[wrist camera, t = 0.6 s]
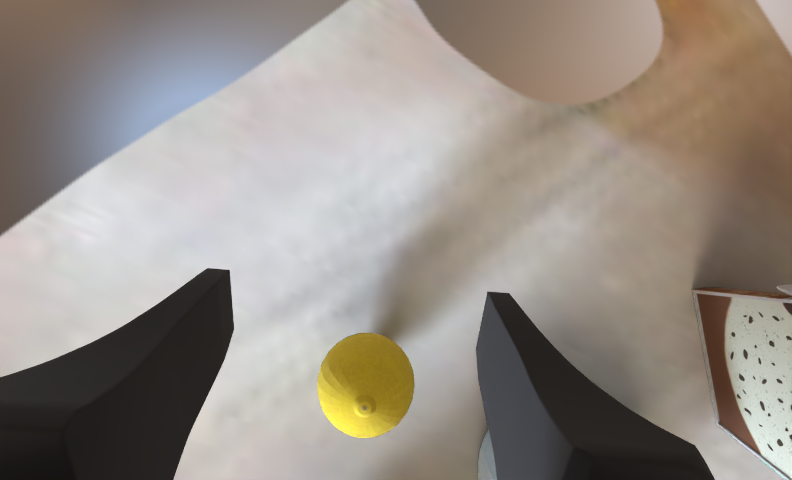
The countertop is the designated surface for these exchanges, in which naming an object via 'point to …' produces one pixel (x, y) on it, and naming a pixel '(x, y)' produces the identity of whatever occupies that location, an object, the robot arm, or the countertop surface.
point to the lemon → (365, 385)
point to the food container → (750, 368)
